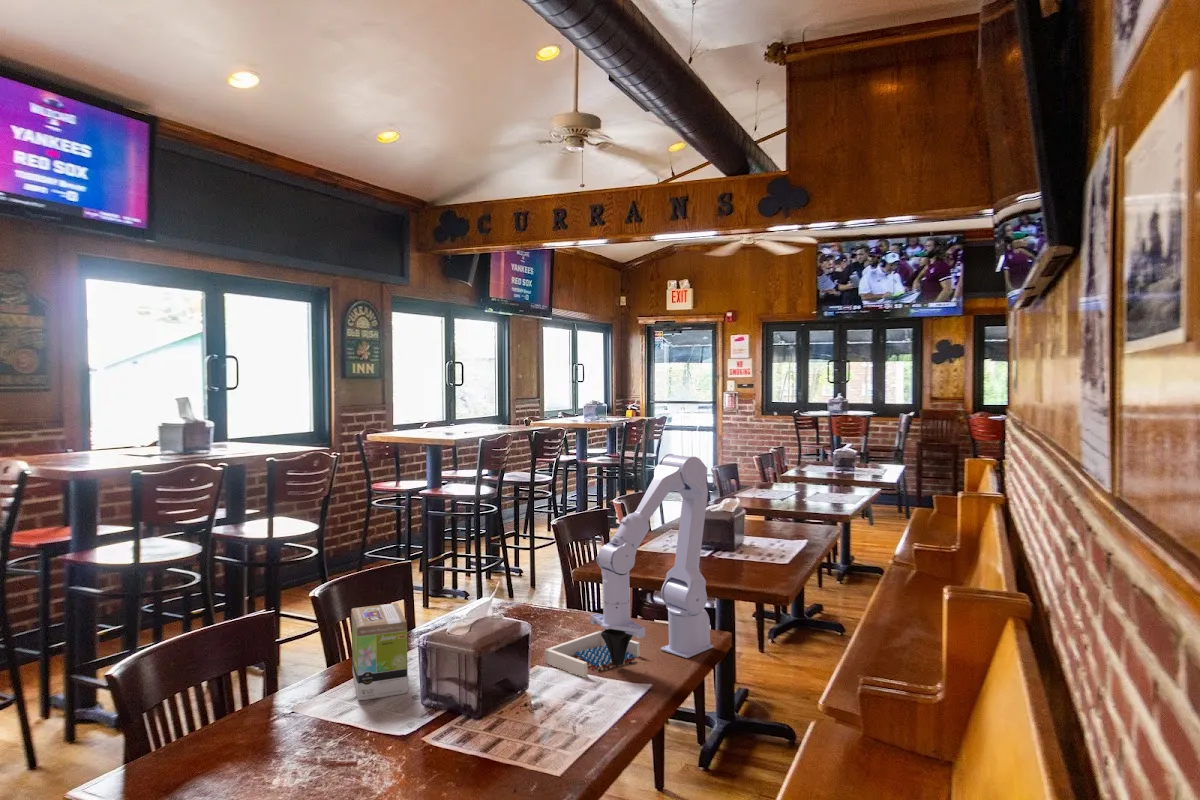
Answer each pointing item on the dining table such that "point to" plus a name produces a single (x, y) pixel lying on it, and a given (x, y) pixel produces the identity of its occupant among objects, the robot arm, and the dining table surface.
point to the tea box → (379, 651)
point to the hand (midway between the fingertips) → (618, 663)
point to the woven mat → (600, 658)
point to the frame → (563, 652)
